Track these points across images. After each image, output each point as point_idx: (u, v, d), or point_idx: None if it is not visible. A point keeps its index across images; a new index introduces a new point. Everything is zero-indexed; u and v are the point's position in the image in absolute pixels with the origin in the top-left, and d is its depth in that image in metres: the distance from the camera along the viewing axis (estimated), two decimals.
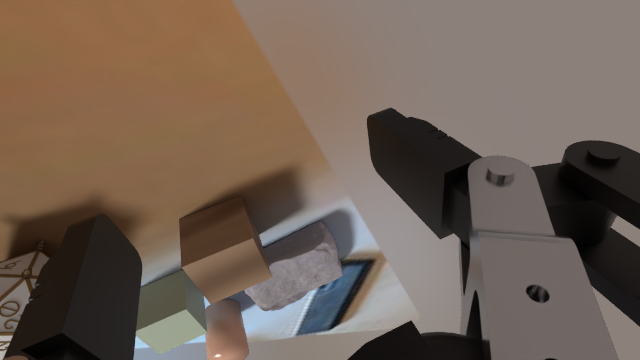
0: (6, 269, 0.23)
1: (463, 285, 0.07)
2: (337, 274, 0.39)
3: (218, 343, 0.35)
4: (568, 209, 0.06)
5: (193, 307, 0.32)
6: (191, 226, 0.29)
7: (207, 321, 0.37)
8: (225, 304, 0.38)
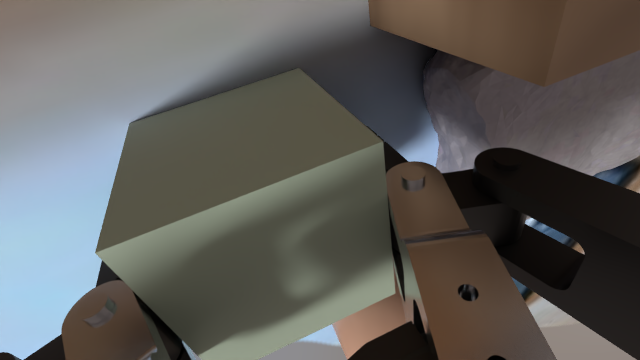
0: None
1: (402, 291, 0.07)
2: None
3: None
4: (475, 212, 0.07)
5: None
6: None
7: None
8: None
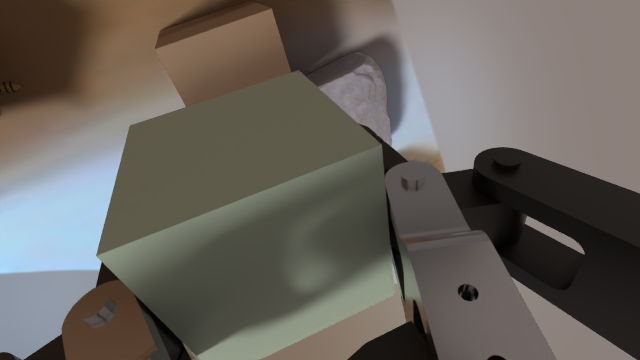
0: None
1: (402, 292, 0.07)
2: (384, 141, 0.27)
3: None
4: (475, 212, 0.07)
5: None
6: (176, 29, 0.19)
7: None
8: None
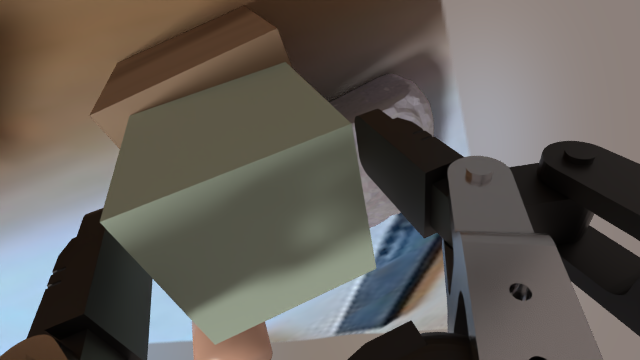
0: None
1: (448, 285, 0.07)
2: None
3: None
4: (545, 208, 0.06)
5: None
6: (136, 62, 0.13)
7: None
8: None
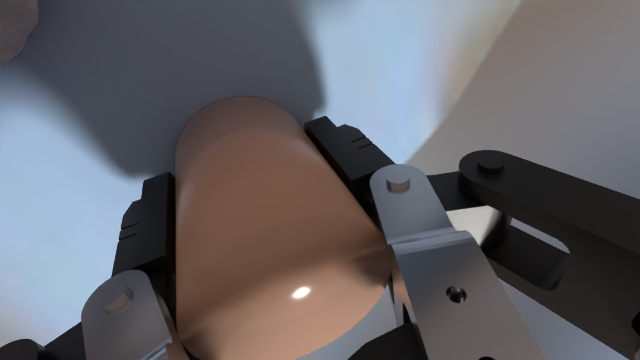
0: None
1: (391, 294, 0.07)
2: None
3: None
4: (459, 215, 0.07)
5: None
6: None
7: None
8: (175, 164, 0.10)
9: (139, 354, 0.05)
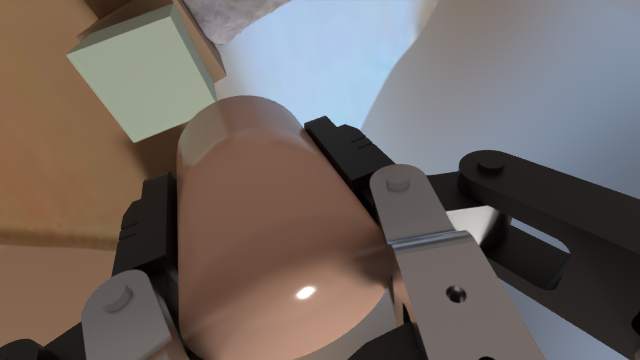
0: None
1: (391, 294, 0.07)
2: None
3: None
4: (459, 215, 0.07)
5: (106, 36, 0.16)
6: None
7: None
8: (177, 163, 0.10)
9: (139, 354, 0.05)
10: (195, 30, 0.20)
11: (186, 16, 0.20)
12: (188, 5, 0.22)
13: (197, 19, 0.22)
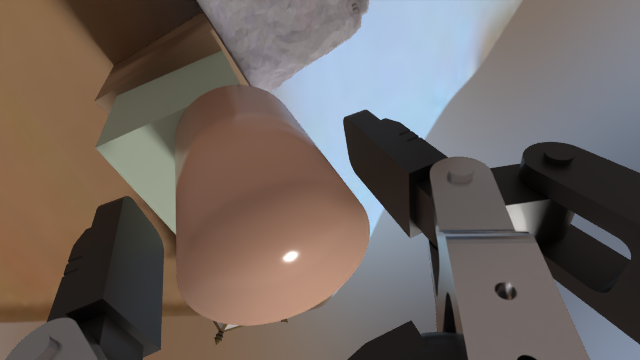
0: None
1: (435, 286, 0.07)
2: None
3: None
4: (525, 208, 0.07)
5: (147, 112, 0.11)
6: None
7: None
8: None
9: None
10: (245, 82, 0.16)
11: (235, 66, 0.15)
12: (231, 50, 0.18)
13: (241, 66, 0.18)
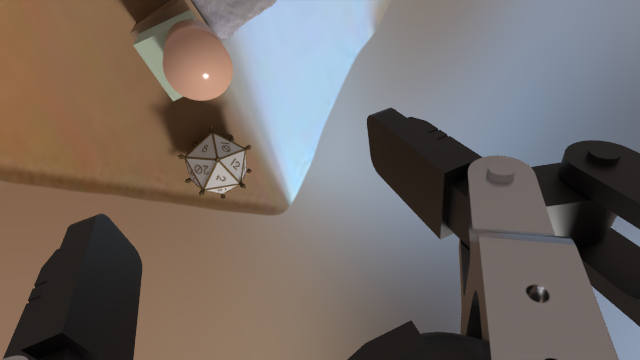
0: None
1: (463, 285, 0.07)
2: None
3: None
4: (568, 209, 0.06)
5: (154, 33, 0.26)
6: None
7: None
8: None
9: None
10: None
11: (200, 16, 0.29)
12: (201, 12, 0.32)
13: (208, 21, 0.32)
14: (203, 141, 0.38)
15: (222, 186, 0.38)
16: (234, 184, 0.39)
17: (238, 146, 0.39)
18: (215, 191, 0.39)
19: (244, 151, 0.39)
